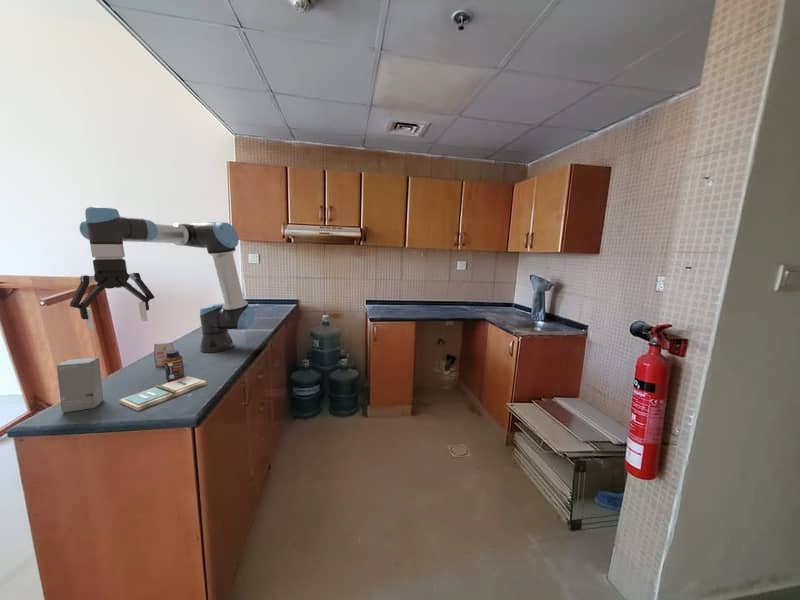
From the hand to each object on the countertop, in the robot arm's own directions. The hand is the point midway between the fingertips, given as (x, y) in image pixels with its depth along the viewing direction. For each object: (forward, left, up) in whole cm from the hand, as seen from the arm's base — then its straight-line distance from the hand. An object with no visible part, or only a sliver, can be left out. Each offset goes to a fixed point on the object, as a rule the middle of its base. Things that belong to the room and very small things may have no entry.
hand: (119, 324), depth 99 cm
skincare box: (+8, -12, -28) cm, 31 cm away
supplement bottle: (-18, -9, -28) cm, 34 cm away
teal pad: (-4, +2, -26) cm, 26 cm away
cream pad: (-15, +2, -26) cm, 30 cm away
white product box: (-25, -30, -28) cm, 48 cm away
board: (-9, +2, -27) cm, 29 cm away
